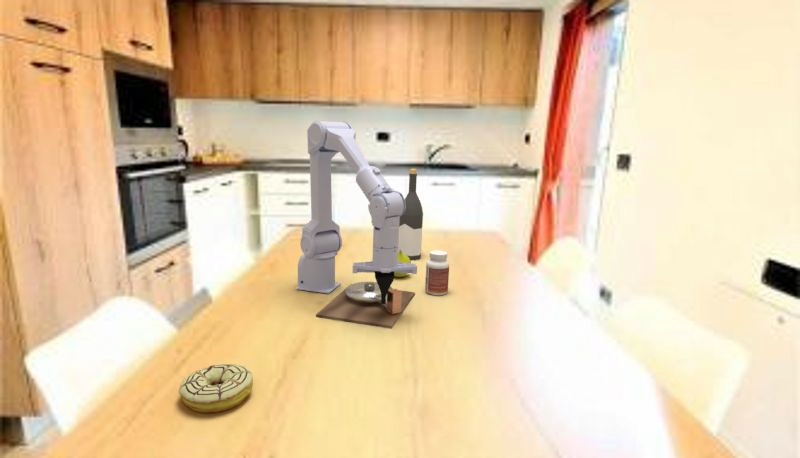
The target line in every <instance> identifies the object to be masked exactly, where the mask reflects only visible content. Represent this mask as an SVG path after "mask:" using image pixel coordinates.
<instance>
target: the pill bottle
mask: <svg viewBox="0 0 800 458" xmlns="http://www.w3.org/2000/svg"><path fill="white" fill-rule="evenodd" d="M447 259H448V252H447V251H444V250H440V249H438V250H437V249H436V250H430V251H429V259H427V261H426V266H425V283H424V284H425V285H424V287H425V288H424V289H425V292H426V293H427V294H429V295H432V296H443V295H446V294H447V293H448V291H449V278H450V276H449V275H450V262H449V261H448V260H447Z"/></svg>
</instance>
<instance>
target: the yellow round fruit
mask: <svg viewBox="0 0 800 458" xmlns="http://www.w3.org/2000/svg"><path fill="white" fill-rule="evenodd" d="M411 261H412V260H410V259H409V257H408V256H407V255H405V254H403V253H402V249H401V248H400V249H399V252H398V262H402V263H411V264H412V262H411ZM408 274H409V273H394V277H397V278H401V277H406V276H407V275H408Z"/></svg>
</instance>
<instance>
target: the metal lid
mask: <svg viewBox="0 0 800 458" xmlns="http://www.w3.org/2000/svg"><path fill="white" fill-rule="evenodd" d="M345 289H346V290H345ZM345 289H344V290H345V294H346V296H347V297H348V298H350V299H352V300H355V301H360V302H379V303H380V304H381V291H380V288H379V286H378V283H377V281H359V282H354V283H351V284H348V285H347V286H346V288H345ZM399 290H400V289H397V288H393V287H392V286H390V287H389V290H388V292H387V295H386V304H382V305H384V306H385V307H387V311H388V312H390V313H391V314H395V313H399V312H401V297H402V292H401V291H402V290H401V291H399Z"/></svg>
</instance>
